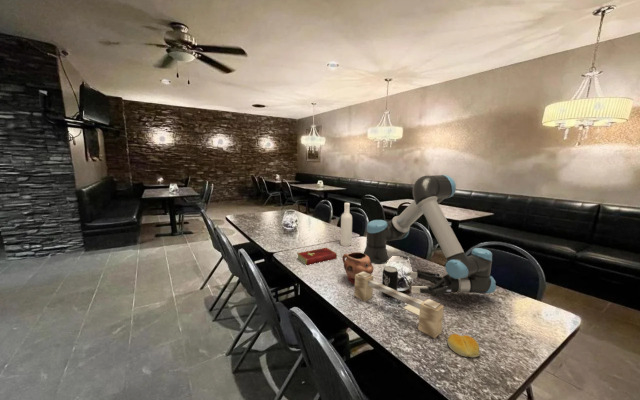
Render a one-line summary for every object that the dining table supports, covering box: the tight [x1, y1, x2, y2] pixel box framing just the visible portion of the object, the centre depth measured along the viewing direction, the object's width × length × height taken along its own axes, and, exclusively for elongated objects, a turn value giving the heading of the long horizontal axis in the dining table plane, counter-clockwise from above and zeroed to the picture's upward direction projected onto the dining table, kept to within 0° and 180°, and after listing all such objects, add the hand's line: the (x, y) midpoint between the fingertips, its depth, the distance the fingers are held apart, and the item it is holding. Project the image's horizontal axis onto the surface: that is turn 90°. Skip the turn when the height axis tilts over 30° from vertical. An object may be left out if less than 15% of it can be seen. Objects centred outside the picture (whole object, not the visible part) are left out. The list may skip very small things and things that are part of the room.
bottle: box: [340, 202, 353, 247], centre depth 180 cm, size 8×8×30 cm
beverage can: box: [381, 265, 399, 298], centre depth 115 cm, size 7×7×12 cm
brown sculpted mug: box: [342, 251, 375, 286], centre depth 127 cm, size 20×12×14 cm, turn 43°
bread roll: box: [447, 333, 481, 358], centre depth 83 cm, size 8×9×4 cm
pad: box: [403, 298, 425, 317], centre depth 104 cm, size 11×11×1 cm
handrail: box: [353, 271, 445, 339], centre depth 101 cm, size 36×5×11 cm, turn 41°
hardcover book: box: [296, 247, 338, 266], centre depth 156 cm, size 12×21×4 cm, turn 121°
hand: (406, 281), depth 114 cm, fingers open, 13 cm apart
